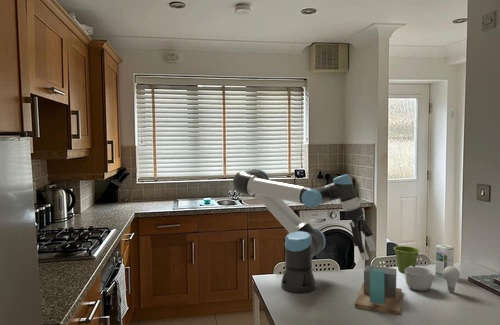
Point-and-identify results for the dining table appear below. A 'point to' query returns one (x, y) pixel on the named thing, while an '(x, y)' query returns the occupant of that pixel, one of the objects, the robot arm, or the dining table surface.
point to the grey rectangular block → (389, 281)
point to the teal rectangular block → (377, 286)
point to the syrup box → (443, 258)
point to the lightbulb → (451, 277)
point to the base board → (388, 306)
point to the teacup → (418, 278)
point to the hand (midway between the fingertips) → (369, 255)
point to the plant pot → (406, 257)
